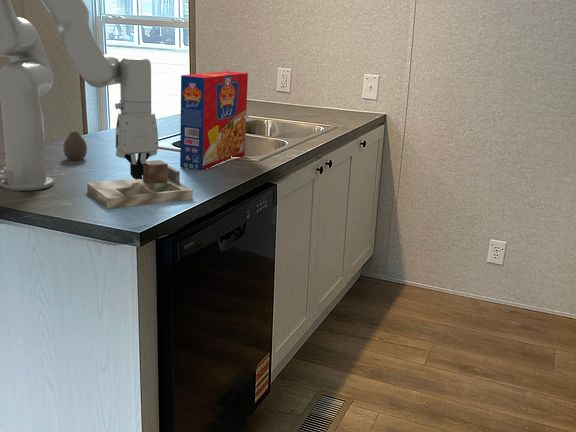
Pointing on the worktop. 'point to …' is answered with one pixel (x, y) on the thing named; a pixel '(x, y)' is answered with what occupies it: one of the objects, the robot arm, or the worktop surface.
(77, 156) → the vase
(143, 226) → the worktop surface
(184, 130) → the pasta box
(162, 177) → the walnut block
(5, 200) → the worktop surface
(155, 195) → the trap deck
